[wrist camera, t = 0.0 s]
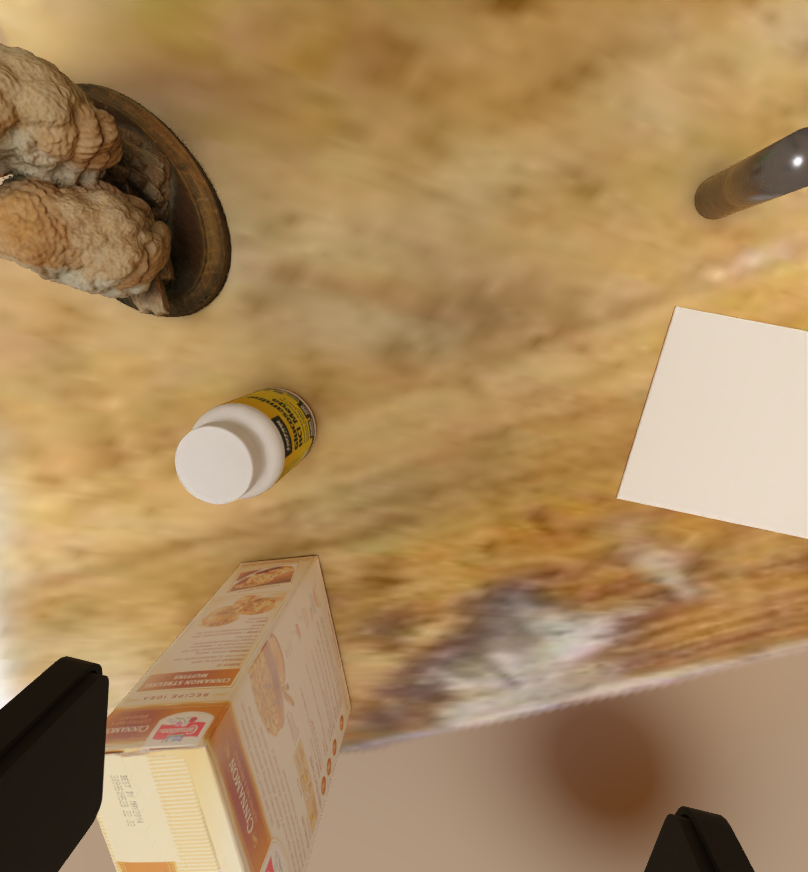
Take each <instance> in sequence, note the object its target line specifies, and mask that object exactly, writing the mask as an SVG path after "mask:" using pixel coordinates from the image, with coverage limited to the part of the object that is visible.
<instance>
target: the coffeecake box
mask: <svg viewBox="0 0 808 872" xmlns="http://www.w3.org/2000/svg"><path fill="white" fill-rule="evenodd" d="M350 711H351V704H350V699H349V694H348V689H347V685H346V680H345V676H344V671H343V666H342V662H341V658H340V653H339V649H338V644H337V640H336V635H335V630H334V626H333V622H332V617H331V613H330V608H329V604H328V599H327V595H326V590H325V586H324V581H323V577H322V572H321V568H320V563H319V559H318V556H308V557H299V558H289V559H279V560H264V561H255V562H246V563H240V565H239V567H238V568H237V569H236V570H235V571H234V573H233V574H232V575H231V576H230V577H229V578H228V579H227V581H226V582H225V583H224V584H223V585H222V586H221V587H220V589H219V590H218V591H217V592H216V593H215V594H214V596H213V597H212V598H211V599H210V600H209V601H208V603H207V604H206V605H205V606H204V607H203V608H202V609H201V611H200V612H199V613H198V614H197V615H196V616H195V617H194V619H193V620H192V621H191V622H190V623H189V624H188V625H187V627H186V628H185V629H184V630H183V631H182V632H181V634H180V635H179V636H178V637H177V638H176V639H175V640H174V642H173V643H172V644H171V645H170V646H169V647H168V649H167V650H166V651H165V652H164V653H163V654H162V655H161V657H160V658H159V659H158V660H157V661H156V662H155V663H154V665H153V666H152V667H151V668H150V669H149V670H148V671H147V673H146V674H145V675H144V676H143V677H142V678H141V680H140V681H139V682H138V683H137V684H136V685H135V687H134V688H133V689H132V690H131V691H130V692H129V693H128V695H127V696H126V697H125V698H124V699H123V700H122V701H121V703H120V704H119V705H118V706H117V707H116V708H115V709H114V711H113V712H112V713H111V714H110V715H109V716H108V718H107V725H106V743H105V761H104V779H103V797H102V803H101V806H100V809H99V812H98V814H97V816H96V817H97V819H98V822H99V825H100V827H101V830H102V832H103V836H104V838H105V841H106V843H107V846H108V849H109V852H110V854H111V857H112V860H113V863H114V865H115V868H116V871H117V872H306V870H307V866H308V862H309V859H310V855H311V852H312V848H313V844H314V841H315V837H316V834H317V830H318V826H319V822H320V819H321V816H322V812H323V808H324V805H325V801H326V798H327V794H328V790H329V787H330V783H331V780H332V776H333V772H334V769H335V765H336V761H337V758H338V754H339V751H340V747H341V744H342V740H343V737H344V733H345V729H346V726H347V722H348V719H349V715H350Z"/></svg>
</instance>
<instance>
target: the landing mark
mask: <svg viewBox="0 0 808 872" xmlns="http://www.w3.org/2000/svg"><path fill="white" fill-rule="evenodd" d="M616 498H618V499H623V500H627V501H632V502H637V503H642V504H646V505H651V506H656V507H660V508H665V509H670V510H675V511H679V512H684V513H689V514H694V515H698V516H703V517H708V518H713V519H717V520H722V521H727V522H731V523H736V524H741V525H746V526H750V527H755V528H760V529H765V530H769V531H774V532H779V533H784V534H788V535H793V536H798V537H802V538H807V539H808V331H803V330H798V329H792V328H787V327H782V326H777V325H771V324H766V323H761V322H755V321H750V320H745V319H740V318H734V317H729V316H724V315H719V314H713V313H708V312H703V311H697V310H692V309H687V308H682V307H675V308H674V312H673V315H672V318H671V321H670V325H669V328H668V331H667V334H666V338H665V341H664V344H663V347H662V351H661V354H660V357H659V360H658V363H657V367H656V370H655V373H654V376H653V380H652V383H651V386H650V389H649V393H648V396H647V399H646V402H645V406H644V409H643V412H642V415H641V419H640V422H639V425H638V428H637V432H636V435H635V438H634V441H633V444H632V448H631V451H630V454H629V457H628V461H627V464H626V467H625V470H624V474H623V477H622V480H621V483H620V487H619V490H618V493H617V496H616Z"/></svg>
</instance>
